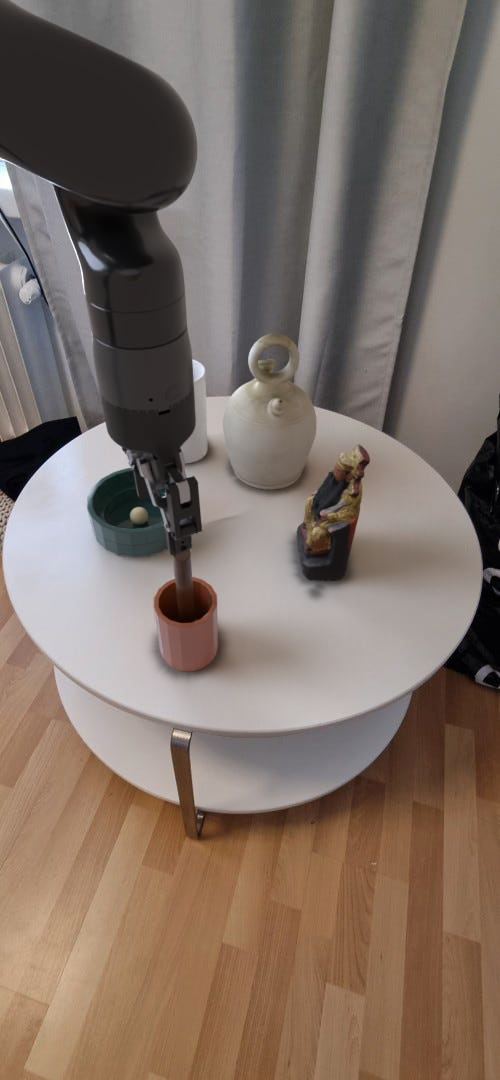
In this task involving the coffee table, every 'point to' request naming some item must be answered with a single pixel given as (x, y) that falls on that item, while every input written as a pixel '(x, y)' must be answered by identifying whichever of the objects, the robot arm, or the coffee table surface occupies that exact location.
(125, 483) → the bowl
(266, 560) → the coffee table surface
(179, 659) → the crock
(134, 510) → the dough ball
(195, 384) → the cup
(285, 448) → the jug
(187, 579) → the stick
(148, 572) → the coffee table surface
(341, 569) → the statue
